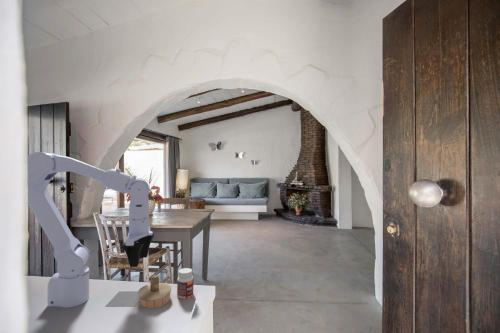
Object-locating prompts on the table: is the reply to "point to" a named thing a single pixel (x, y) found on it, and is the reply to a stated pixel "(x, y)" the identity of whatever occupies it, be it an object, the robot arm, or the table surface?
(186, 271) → the pill bottle
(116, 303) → the coaster
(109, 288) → the table surface
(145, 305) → the bowl
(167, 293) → the lid
